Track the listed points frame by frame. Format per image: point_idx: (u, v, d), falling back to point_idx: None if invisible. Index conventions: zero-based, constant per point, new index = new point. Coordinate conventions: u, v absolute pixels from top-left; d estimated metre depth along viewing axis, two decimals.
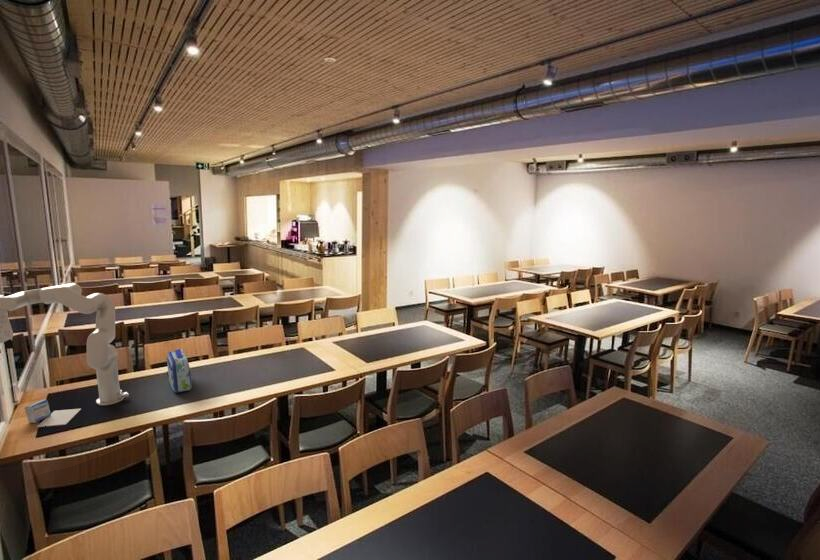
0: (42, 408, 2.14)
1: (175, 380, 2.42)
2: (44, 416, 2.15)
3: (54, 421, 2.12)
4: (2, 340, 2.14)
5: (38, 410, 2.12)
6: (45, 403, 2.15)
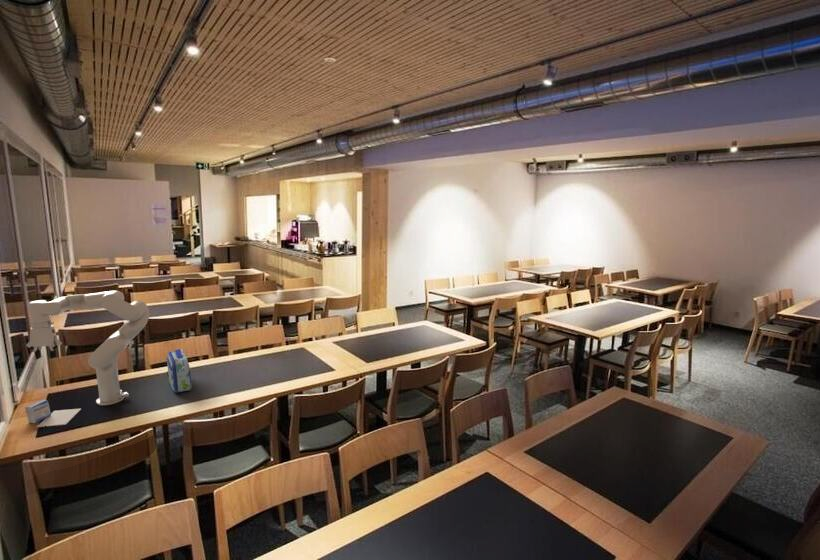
0: (42, 408, 2.14)
1: (175, 380, 2.42)
2: (44, 416, 2.15)
3: (54, 421, 2.12)
4: None
5: (38, 411, 2.12)
6: (45, 403, 2.15)
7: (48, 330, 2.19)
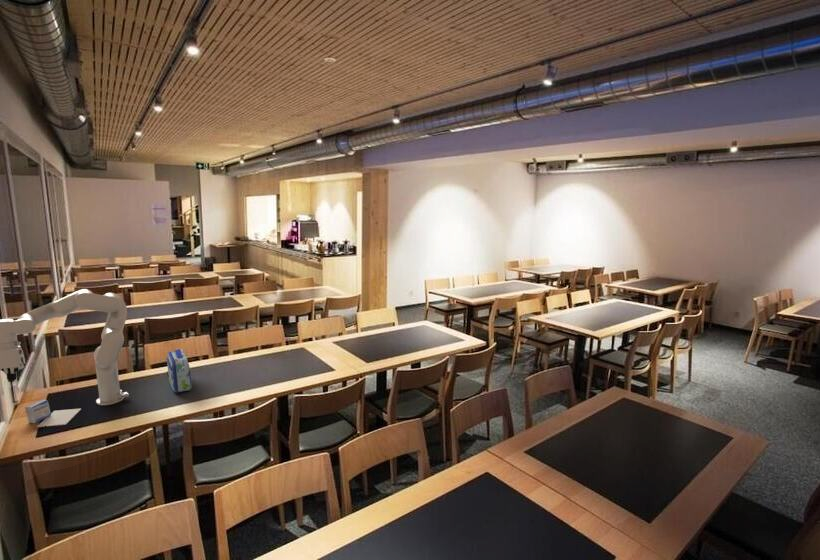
0: (42, 408, 2.14)
1: (175, 380, 2.42)
2: (44, 416, 2.15)
3: (54, 421, 2.12)
4: None
5: (38, 411, 2.12)
6: (45, 403, 2.15)
7: (14, 351, 2.05)
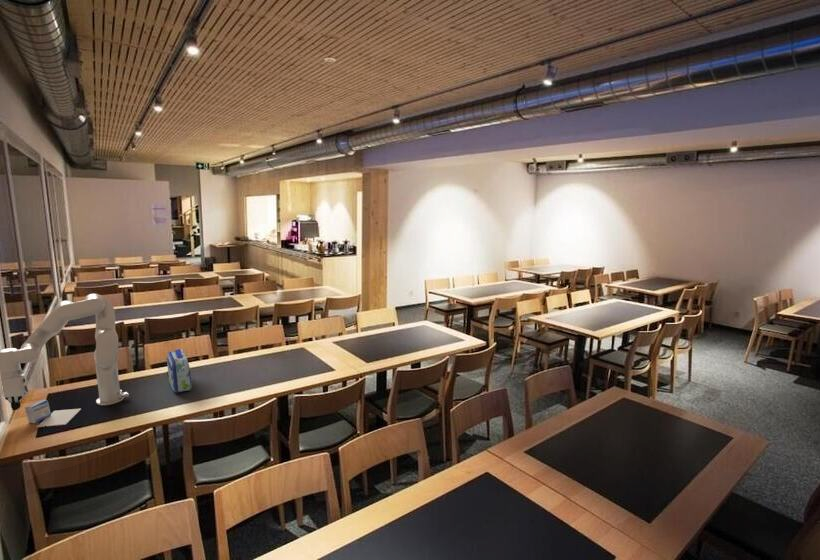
0: (42, 408, 2.14)
1: (175, 380, 2.42)
2: (44, 416, 2.15)
3: (54, 421, 2.12)
4: None
5: (38, 411, 2.12)
6: (45, 403, 2.15)
7: (18, 380, 2.07)
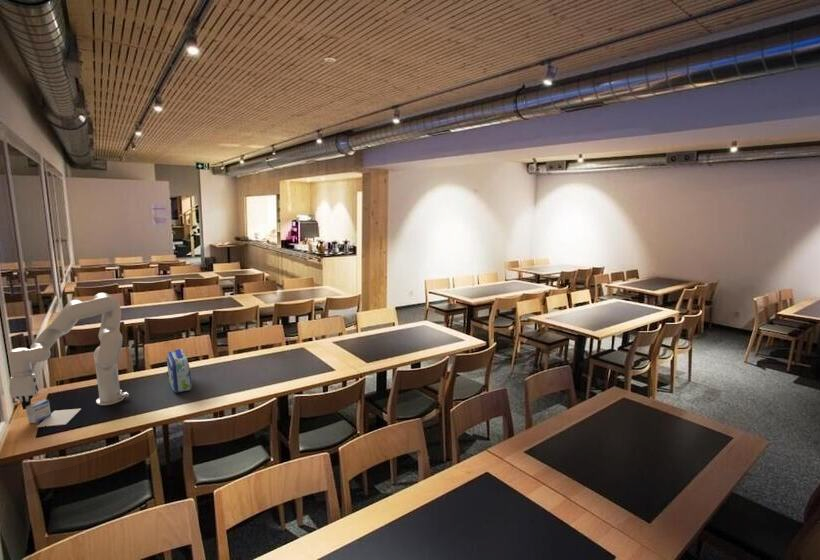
0: (43, 409, 2.14)
1: (175, 380, 2.42)
2: (44, 416, 2.15)
3: (54, 421, 2.12)
4: None
5: (39, 411, 2.12)
6: (46, 404, 2.15)
7: (29, 379, 2.08)
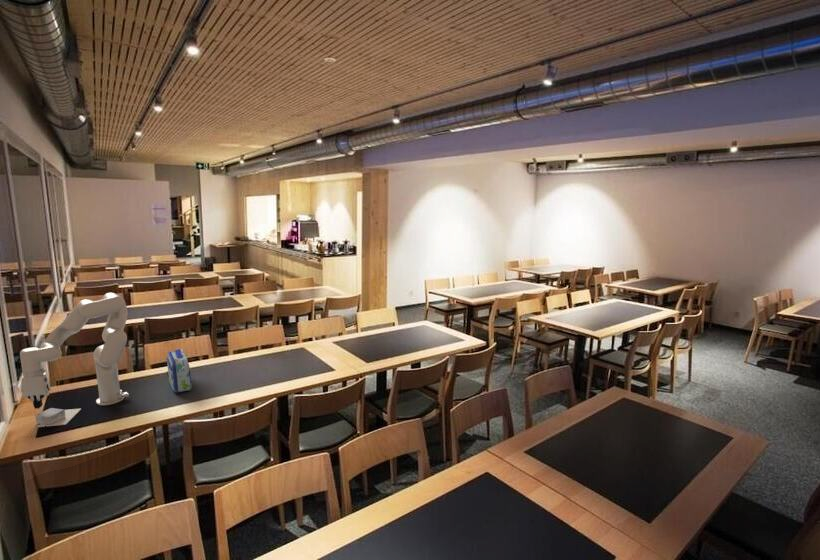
0: None
1: (175, 380, 2.42)
2: None
3: None
4: None
5: None
6: None
7: (40, 379, 2.10)
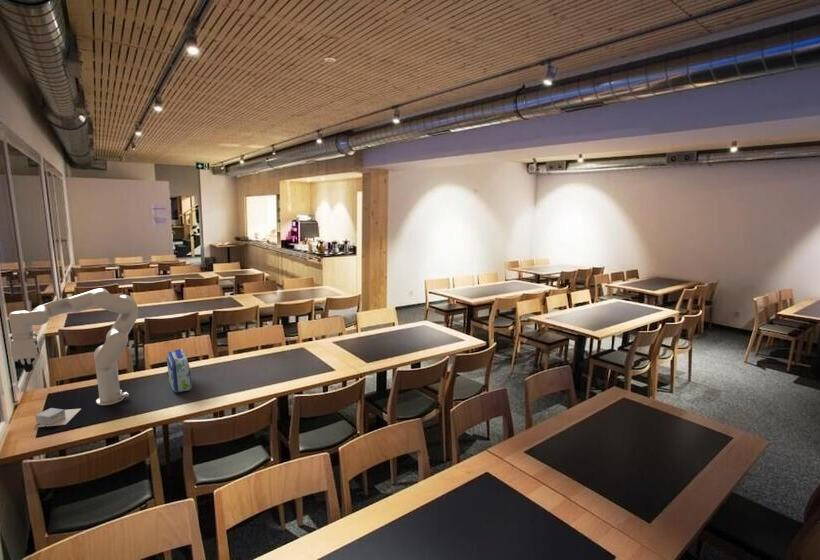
0: None
1: (175, 380, 2.42)
2: None
3: None
4: None
5: None
6: None
7: (30, 342, 2.09)
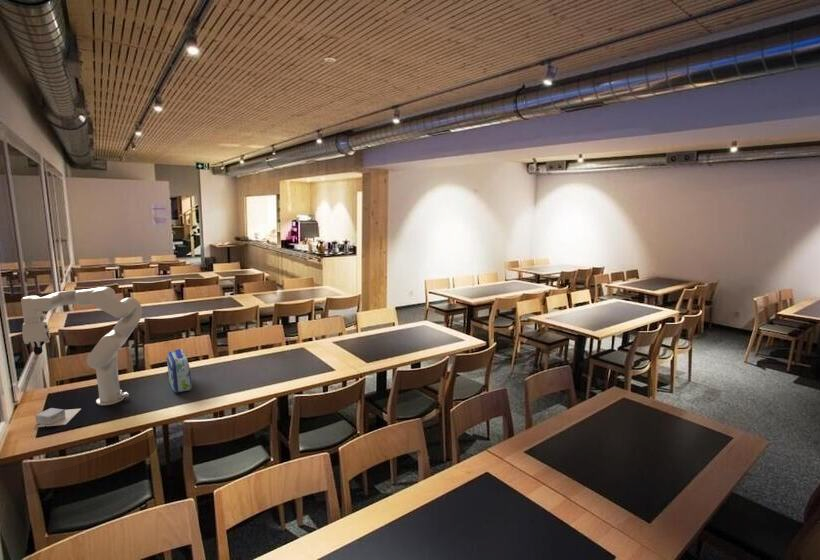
0: None
1: (175, 380, 2.42)
2: None
3: None
4: None
5: None
6: None
7: (40, 326, 2.19)
